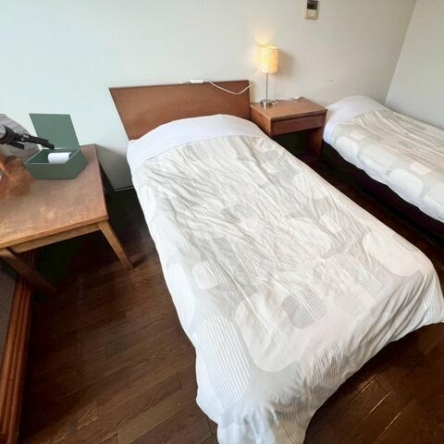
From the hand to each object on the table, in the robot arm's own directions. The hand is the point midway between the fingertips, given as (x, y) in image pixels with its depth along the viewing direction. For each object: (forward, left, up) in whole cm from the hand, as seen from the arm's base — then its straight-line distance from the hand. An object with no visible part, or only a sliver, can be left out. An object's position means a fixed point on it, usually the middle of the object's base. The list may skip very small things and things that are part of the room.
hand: (38, 147), depth 129 cm
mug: (+1, +8, -17) cm, 18 cm away
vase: (-20, +15, -18) cm, 30 cm away
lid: (0, +16, +2) cm, 17 cm away
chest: (0, +5, -17) cm, 18 cm away
